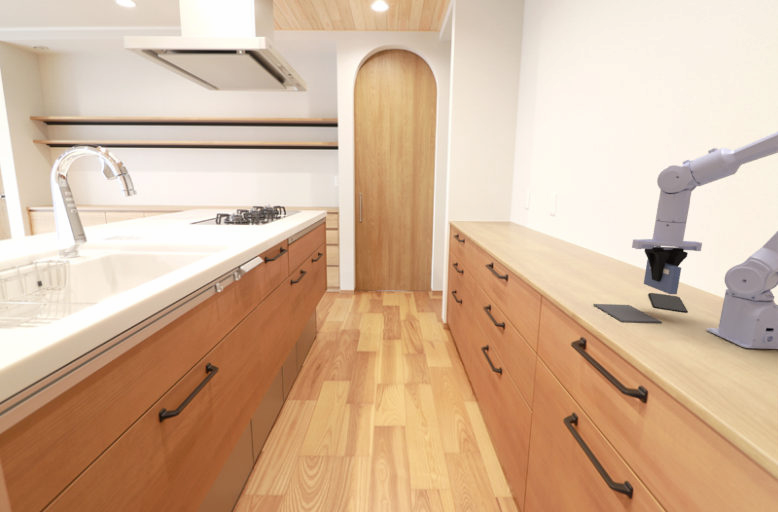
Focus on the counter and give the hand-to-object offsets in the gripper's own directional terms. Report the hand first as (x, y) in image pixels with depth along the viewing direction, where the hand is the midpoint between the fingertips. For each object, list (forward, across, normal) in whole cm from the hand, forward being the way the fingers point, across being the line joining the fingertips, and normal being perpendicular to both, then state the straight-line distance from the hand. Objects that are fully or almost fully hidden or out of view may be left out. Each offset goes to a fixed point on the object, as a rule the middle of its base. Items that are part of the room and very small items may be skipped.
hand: (660, 280), depth 92 cm
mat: (+8, +6, -1) cm, 11 cm away
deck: (+2, 0, 0) cm, 2 cm away
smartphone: (+9, -10, -11) cm, 18 cm away
